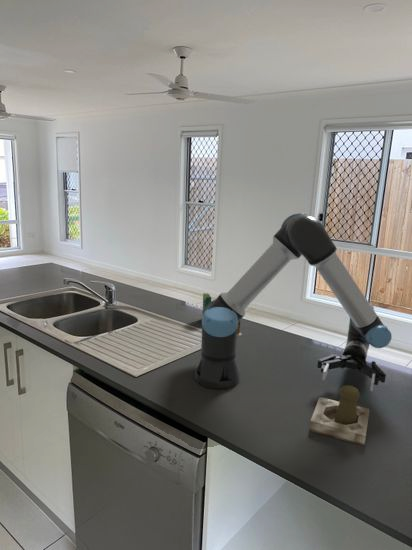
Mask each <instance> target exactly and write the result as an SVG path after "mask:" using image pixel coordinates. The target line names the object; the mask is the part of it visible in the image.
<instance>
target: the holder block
mask: <svg viewBox="0 0 412 550" xmlns="http://www.w3.org/2000/svg"><path fill="white" fill-rule="evenodd" d="M339 403H340V401H337V400H334V399H329V398H327V397H321V396H319V397H318V400H317V403H316V406H315V407H314V411H313V413H312V416H311V418H310V421H309V422H310V423H309V431H310V432H314V433H317V434H321V435H324V436H327V437H329V438H330V437H331V438H334V439H337V440H341V441H344V442H349V443H352V444H356V445H359V446H363V447H365V444H366V438H367V430H368V424H369V418H370V417H369V416H370V408H366V407H362V406H358V405H357V423H354V424H349V425H344V424H340V423H336V422H334V420H335V417H336V413H337V410H338V406H339Z"/></svg>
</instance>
